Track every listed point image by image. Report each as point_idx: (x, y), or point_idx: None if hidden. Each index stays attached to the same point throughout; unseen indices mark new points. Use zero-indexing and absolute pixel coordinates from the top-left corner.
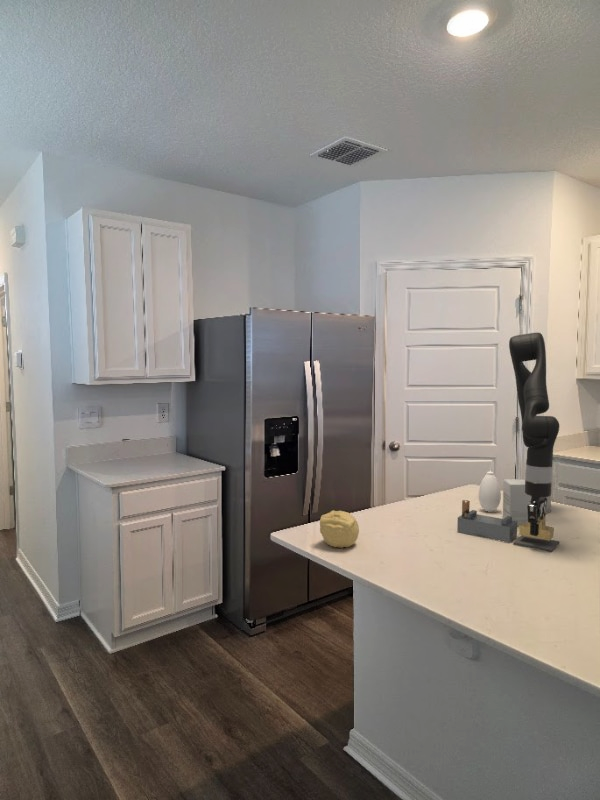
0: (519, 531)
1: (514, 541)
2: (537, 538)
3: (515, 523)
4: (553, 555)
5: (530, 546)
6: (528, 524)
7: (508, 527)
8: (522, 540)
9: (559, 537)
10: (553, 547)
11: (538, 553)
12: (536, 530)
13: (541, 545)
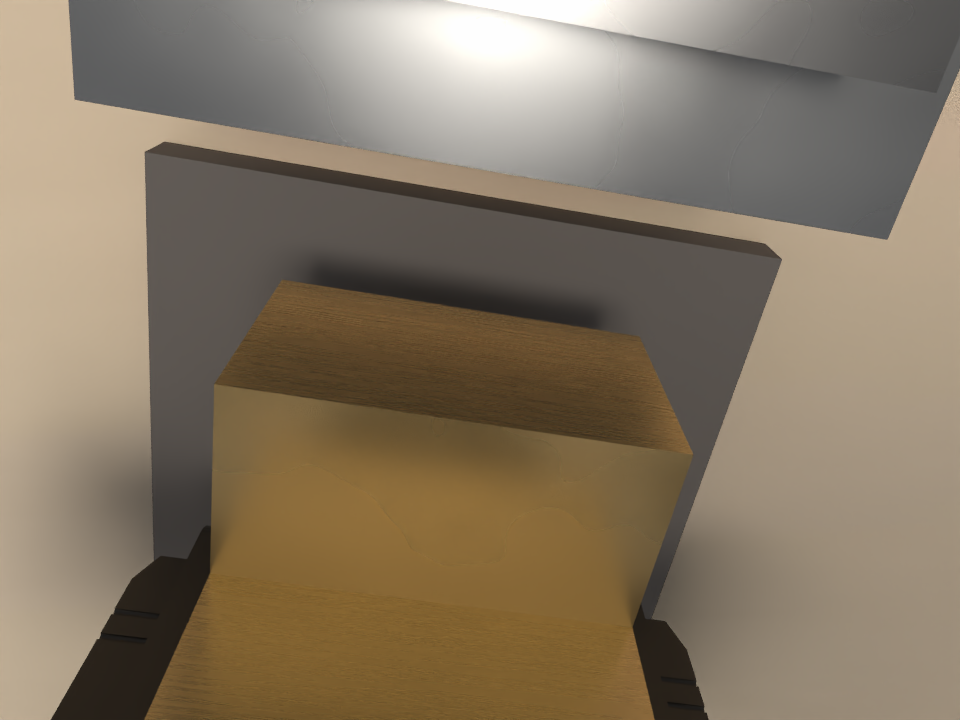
0: (263, 316)
1: (198, 165)
2: None
3: (684, 201)
4: (72, 661)
5: (155, 427)
6: (185, 642)
7: (77, 48)
8: None
9: (904, 686)
10: None
11: (8, 519)
12: None
13: None
